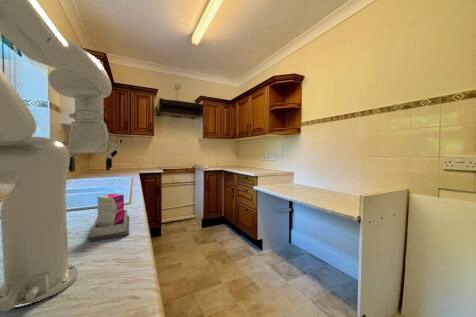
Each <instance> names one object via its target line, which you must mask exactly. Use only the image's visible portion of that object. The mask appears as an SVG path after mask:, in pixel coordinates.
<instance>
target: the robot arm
mask: <svg viewBox="0 0 476 317" xmlns="http://www.w3.org/2000/svg"><path fill="white" fill-rule="evenodd" d="M0 33H1V34H2V35H3V36H4V38H6V39H7V40H8V41H9V42H10V43H11V44H12V45H13V46H14V47H15V48H16V49H17V50H19V51H20V53H22V54H23V56H25V57H26V58H28V59H29V60H32V61H34V62H37V63H38V64H43V65H45V66H48V67H51V68H54V69H52V70H51V71H49V74H48V83H49V86H50V87H51V88H52V90H53V91H54V92H56V93H58V94H59V95H61V96H64V97H68V98H73V99H74V112H73V113H69V114H68V117H69V118H70V119H73V120H72V121H71V122H70V128H69V135H68V139H67V140H64V141H62V142H61V141H58V139H57V140H56V139H53V138H49V137H44V136H43V137H42V136H34V135H35V134H36V131H37V123H36V120H35V117H34V115H33V114H32V112H31V111H30V109H29V107H28V105H27V104H26V103H25V101H24V100H23V99H22V97H21V96H20V94H19V93H18V91H17V90H16V89H15V87H14V86H13V84H12V83H11V81H10V80H9V79H8V77H7V75H6V74H5V73H4V71H3V69H2V67H0V185H14V187H13V188H12V190H11V191H10V193H9V194H8V195H7V196H6V197H5V199H4V201H3V202H2V204H1V206H0V228H1V245H2V246H1V248H2V263H3V279H4V280H3V281H4V284H3V285H2V286H1V287H0V311H1V312H7V311H10V310H12V309H14V308H13V307H14V306H15V305H19V304H25V303H31V302H35V301H38V300H42V299H44V298H46V299H48V298H47V297H49V296H51V297H53V296H55V295H57V294H58V293H61V291H64V290H65V289H66V288H68V287H69V286H70V285H71V284H72V283H74V281H75V280H76V279H77V276H78V268H77V267H76V266H75V265H73V264H69V253H68V252H69V251H68V246H69V245H68V228H67V227H68V226H67V225H68V224H67V203H66V188H67V178H68V173H69V172H70V173H72V172H75V171H76V159H75V158H74V157H75V156H76V155H77V154H103V155H105V156H106V159H105V171H107V172H108V171H110V170H111V169H112V168H113V158H114V157H115V156H116V155H117V154H118V153H119V151H120V149H121V148H122V146H121V145H119V144H118V143H116V142H113V141H110V140H109V132H108V127H107V124H106V123H105V120H104V114H105V113H104V98H107V97H109V96H110V95H111V93H112V87H113V86H112V82H111V80H110V76H109V75H108V74H107V71H106V70H105V67H104V66H103V65H102V63H101V62H100V60H98V59H97V58H96V57H95V56H94V55H92V54H91V53H90V52H88V51H87V50H85V49H83V47H81V46H79V45H78V44H76V43H74V42H73V41H71V40H70V39H67V38H65V37H64V36H62V35H61V33H60V32H59V31H58V29H57V28H56V26H55V25H54V24H53V22H52V21H51V20H50V18H49V17H48V16H47V14H46V12H45V11H44V10H43V9H42V7H41V5H40V4H39V2H37V0H0ZM67 146H68V147H67ZM110 146H111V147H114V150H113V151H111V152H110ZM56 293H57V294H56ZM54 294H55V295H54ZM52 295H53V296H52ZM49 298H50V297H49ZM44 300H45V299H44ZM42 301H43V300H42Z"/></svg>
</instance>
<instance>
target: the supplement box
mask: <svg viewBox="0 0 476 317" xmlns="http://www.w3.org/2000/svg"><path fill="white" fill-rule="evenodd" d="M124 210H125V194H121V193H120V194H119V193H108V194H105V195H100V196H97V216H98V227H104V226H110V225H117V224H124Z"/></svg>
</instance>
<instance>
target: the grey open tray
mask: <svg viewBox="0 0 476 317" xmlns="http://www.w3.org/2000/svg"><path fill="white" fill-rule="evenodd" d="M129 235H130V215H129V214H128V209H124V224H117V225H110V226H104V227H98V215H97V216H96V219H95V220H94V223H93V225H92V227H91V229H90V234H89V237H88V243H92V242H97V241H103V240H104V241H105V240H108V239H114V238H115V239H116V238H121V237H124V236H125V237H126V236H129Z"/></svg>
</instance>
